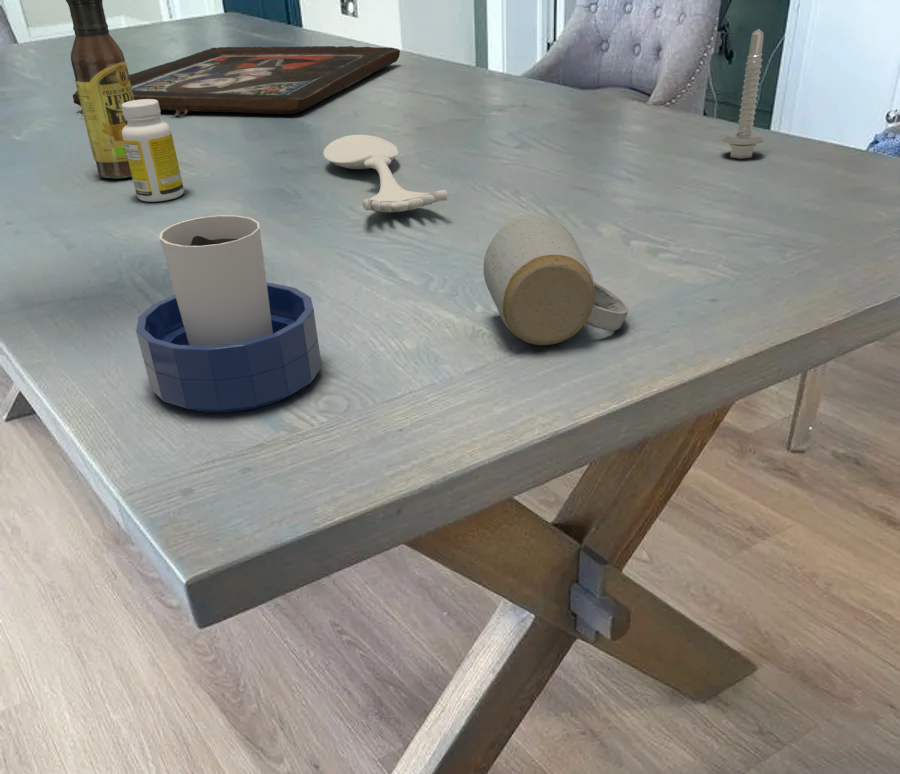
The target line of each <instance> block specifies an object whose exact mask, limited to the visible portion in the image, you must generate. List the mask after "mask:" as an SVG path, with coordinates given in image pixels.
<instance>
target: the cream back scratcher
mask: <svg viewBox="0 0 900 774" xmlns="http://www.w3.org/2000/svg"><path fill="white" fill-rule="evenodd" d="M398 154H399V149H398V147H397V146H396V145H395V144H393V142H391V141H389V140H386V139H384V138H382V137H380V136H375V135H370V134H369V135H368V134H350V135H345V136H341V137H339V138H337V139H334V140H332V141H330V142H329V143H328V144H327V145H326V146H325V148H324V149H323V157H324V158H325V159H326V160H327V161H328V162H329V163H332V164H333V165H336V166H338V167H341V168H345V169H349V170H369V169H374V170H376V171H377V173H378V175H379V181H380V182H379V183H380V184H379V185H380V188H379V191H378V193H376V194H375V195H374V196H372V197H370V198H366V199H365V198H364V199H363V202H362V206H363V209H364V210H365V211H373V212H380V213H402V212H406V211H412V210H416V209H419V208H420V209H421V208H422V207H426V206H431V205H433V204H436V203H439V202H445V201H448V196H449V195H448V191H447V190H446V189H440V190H436V191H433V192H423V191H421V192H420V191H419V192H418V191H410V190H407V189H405V188H403V187H402V186H401V185H400V184H399V183H398V182H397V180H396V178H395V177H394V175H393V173H392V171H391V169H390V168H389V166H390V165H391V164H392V161H393V160H394V159H396V157H397V156H398Z"/></svg>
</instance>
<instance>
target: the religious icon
mask: <svg viewBox="0 0 900 774" xmlns="http://www.w3.org/2000/svg"><path fill="white" fill-rule="evenodd" d="M400 55H401V50H400V49H399V48H395V47H387V46H386V47H385V46H384V47H383V46H381V47H372V46H352V45H349V46H348V45H347V46H343V45H341V46H334V45H323V46H322V45H307V46H219V47H210V48H208V49H205V50H202V51H199V52H195V53H193V54H190V55H187V56H185V57H182V58H179V59H176V60H173V61H169V62H165V63H163V64H159V65H157V66H153V67H150V68H149V67H148V68H146V69H143V70H141V71H138V72H135V73H131V74H129V78H130V83H131V88H132V92H133V97H134V100H141V99H154V100H157V101H158V103H159V107H160V111H171V112H172V111H174V112H175V113H174V115H175V116H181V115H186V114H187V113H190V112H205V113H206V112H208V113H210V112H211V113H213V112H214V113H246V114H265V115H266V114H267V115H296V114H299V113H301V112H303V111H305V110H307V109H309V108H310V107H311V108H312V107H314V106H315V105H316V104H319V103H321V102H322V101H324V100H326V99H328V98H330V97H331V96H334V95H335V94H338V93H339V92H341V91H343V90H345V89H347V88H349V87H351V86H352V85H354V84H356V83H357V82H359V81H361V80H363V79H365V78H366V77H367V78H368V77H369V76H371V75H372V74H374V73H375V72H378V71H380V70H382V69H384V68H386V67H388V66H391V65H393V64H394V63H397V62H398V60H399V58H400ZM72 99H73V103H74V104H75V105H78V106H79V107H81V103H80V99H79V95H78V91H77V90H76V91H75V92H74V93H73V94H72Z"/></svg>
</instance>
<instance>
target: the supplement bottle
mask: <svg viewBox="0 0 900 774" xmlns="http://www.w3.org/2000/svg"><path fill="white" fill-rule="evenodd" d="M121 106H122V111H123V115H124V118H125V119H126V120H127V122H128V124H127V125H126V126H125V127H124V128H123V130H122V137H123V142H124V146H125V150H126V154H127V158H128V162H129V166H130V170H131V174H132V177H131V178H132V182H133V186H134V189H135V193H136V197H137V198H138V199H139V200H140V201H143V202H147V203H148V202H153V203H154V202H164V201H170V200H174V199H177V198H179V197H181V196H182V195H183V194H184V193H185V192H184V191H185V189H184V184H183V178H182V174H181V170H180V164H179V161H178V156H177V152H176V151H177V150H176V148H175V143H174V138H173V134H172V133H173V132H172V130H171V127H170V125H169V124H168V123H167V122H166V121H163V120H161V119H160V117H161V115H162V113H161V112H162V110H160V107H159V103H158V101H157V100H154V99H141V100H133V101H128V102H125V103H123V104H122V105H121Z"/></svg>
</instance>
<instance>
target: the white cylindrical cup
mask: <svg viewBox="0 0 900 774" xmlns="http://www.w3.org/2000/svg"><path fill="white" fill-rule="evenodd" d="M260 226H261V225H260V222H259V221H257V220H255V219H253V218H252V217H247V216H242V215H229V214H227V215H225V214H224V215H223V214H221V215H209V216H200V217H196V218H191V219H187V220H183V221H180V222H177V223H175V224H172V225H169V226H167V227H166V228H165V229H163V230H162V231H161V232H160V233H159V238H158V239H159V242H160V246H161V249H162V250H161V251H162V254H163V256H164V260H165V264H166V268H167V271H168V275H169V278H170V281H171V285H172V289H173V292H174V295H175V296H176V300H177V303H178V307H179V310H180V314H181V318H182V321H183V325H184V328H185V332H186V335H187V339H188V342H189V345H193V346H216V345H224V344H232V343H240V342H246V341H249V340H253V339H256V338H260V337H263V336H267V335H270V334H273V330H272V322H271V314H270V306H269V298H268V290H267V283H268V282H267V276H266V267H265V259H264V251H263V243H262V236H261V235H262V234H261V227H260Z"/></svg>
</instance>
